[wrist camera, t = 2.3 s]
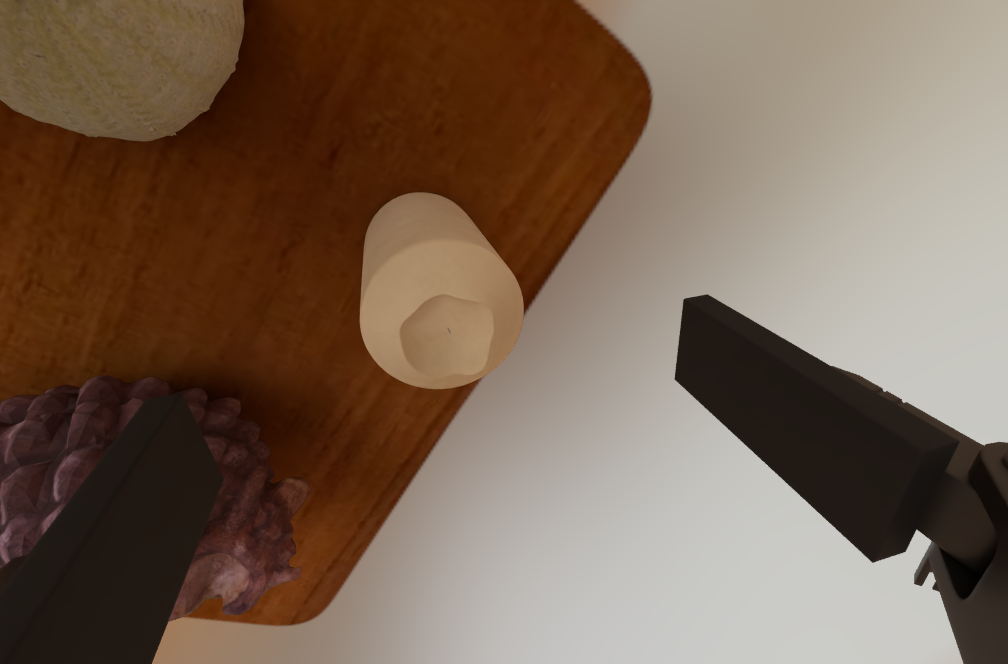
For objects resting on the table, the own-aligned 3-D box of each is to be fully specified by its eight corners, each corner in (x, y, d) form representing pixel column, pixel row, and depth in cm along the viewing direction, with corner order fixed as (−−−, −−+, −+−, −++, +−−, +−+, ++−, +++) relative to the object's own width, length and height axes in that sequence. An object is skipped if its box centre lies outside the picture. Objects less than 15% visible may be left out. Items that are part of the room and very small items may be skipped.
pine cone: (-42, 522, 23) (-396, 622, 13) (38, 332, 25) (-229, 298, 15) (310, 598, 25) (225, 736, 15) (365, 417, 26) (321, 437, 17)
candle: (433, 166, 21) (475, 214, 13) (497, 258, 24) (566, 349, 15) (339, 236, 22) (316, 329, 13) (412, 318, 24) (432, 441, 16)
